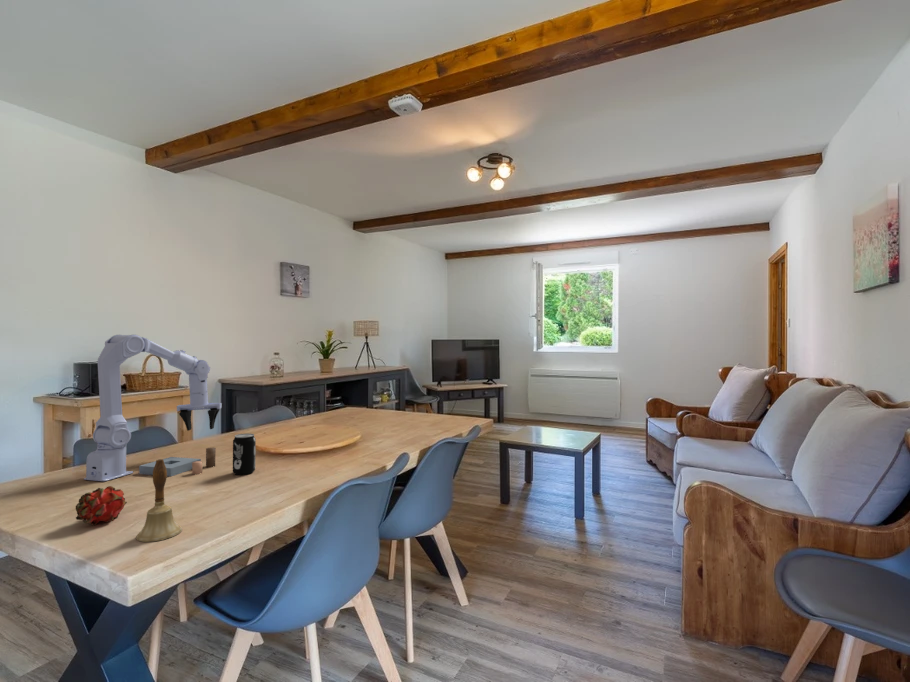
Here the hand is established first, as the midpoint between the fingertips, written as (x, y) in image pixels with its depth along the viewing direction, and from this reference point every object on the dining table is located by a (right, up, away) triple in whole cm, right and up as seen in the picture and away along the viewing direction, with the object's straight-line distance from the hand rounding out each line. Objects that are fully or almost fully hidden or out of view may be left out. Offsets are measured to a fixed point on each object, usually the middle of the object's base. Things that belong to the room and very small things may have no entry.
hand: (200, 429), depth 166 cm
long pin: (+11, -10, -14) cm, 20 cm away
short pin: (+11, -10, -22) cm, 27 cm away
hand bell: (+30, -10, -68) cm, 75 cm away
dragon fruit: (+12, -9, -61) cm, 63 cm away
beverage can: (+26, -10, -21) cm, 35 cm away
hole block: (+1, -10, -19) cm, 21 cm away
